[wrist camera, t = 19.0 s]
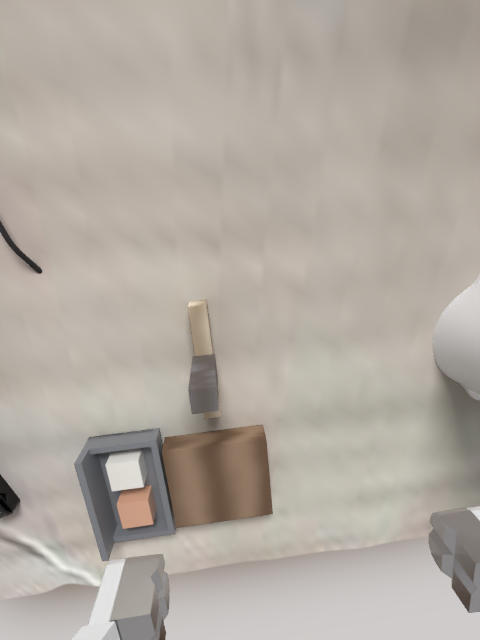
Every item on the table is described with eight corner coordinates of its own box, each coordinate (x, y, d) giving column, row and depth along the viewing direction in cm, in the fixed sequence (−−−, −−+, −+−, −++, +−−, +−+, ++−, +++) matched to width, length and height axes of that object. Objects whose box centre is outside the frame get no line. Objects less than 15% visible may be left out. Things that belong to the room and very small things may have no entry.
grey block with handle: (208, 299, 40) (208, 327, 29) (221, 403, 44) (225, 461, 33) (187, 301, 39) (179, 330, 29) (202, 406, 43) (200, 465, 33)
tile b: (116, 504, 43) (121, 489, 45) (122, 528, 44) (127, 513, 47) (147, 500, 43) (151, 485, 46) (153, 524, 44) (156, 508, 47)
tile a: (105, 465, 41) (111, 451, 44) (112, 491, 42) (117, 477, 45) (138, 460, 41) (142, 447, 44) (143, 487, 43) (147, 473, 45)
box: (159, 428, 44) (152, 453, 39) (176, 518, 48) (172, 550, 43) (89, 437, 43) (74, 464, 39) (113, 527, 48) (102, 561, 43)
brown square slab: (262, 424, 45) (266, 438, 42) (269, 496, 48) (272, 513, 45) (165, 437, 44) (161, 452, 41) (178, 509, 48) (176, 527, 45)
